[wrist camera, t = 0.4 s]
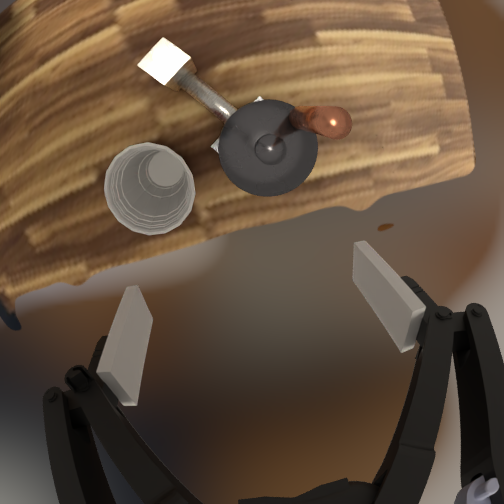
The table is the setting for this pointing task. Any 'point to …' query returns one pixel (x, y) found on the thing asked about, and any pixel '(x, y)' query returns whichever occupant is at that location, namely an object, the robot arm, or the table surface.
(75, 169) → the table surface
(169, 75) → the hook bar
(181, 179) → the plastic cup
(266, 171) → the handwheel
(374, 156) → the table surface
